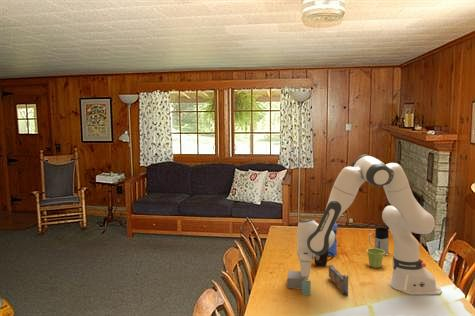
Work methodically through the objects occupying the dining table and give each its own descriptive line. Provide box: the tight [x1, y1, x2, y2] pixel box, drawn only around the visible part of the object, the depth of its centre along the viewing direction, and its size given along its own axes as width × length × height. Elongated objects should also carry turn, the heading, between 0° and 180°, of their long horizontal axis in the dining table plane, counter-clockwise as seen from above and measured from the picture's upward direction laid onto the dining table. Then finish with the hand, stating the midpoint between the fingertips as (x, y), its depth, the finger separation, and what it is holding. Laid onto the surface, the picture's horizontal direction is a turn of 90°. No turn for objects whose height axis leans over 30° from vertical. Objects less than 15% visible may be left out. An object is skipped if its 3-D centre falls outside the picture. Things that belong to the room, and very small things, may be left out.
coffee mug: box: [313, 250, 335, 268], centre depth 215 cm, size 12×9×10 cm
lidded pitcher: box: [368, 227, 390, 255], centre depth 232 cm, size 9×14×15 cm, turn 112°
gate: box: [328, 264, 344, 293], centre depth 189 cm, size 18×2×6 cm, turn 7°
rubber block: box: [286, 270, 304, 290], centre depth 191 cm, size 8×10×5 cm
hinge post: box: [342, 274, 349, 297], centre depth 178 cm, size 2×2×9 cm
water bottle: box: [328, 222, 338, 257], centre depth 232 cm, size 9×9×25 cm
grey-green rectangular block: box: [301, 280, 312, 296], centre depth 180 cm, size 4×2×6 cm, turn 77°
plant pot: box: [366, 247, 385, 269], centre depth 213 cm, size 9×9×9 cm
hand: (306, 279), depth 189 cm, fingers closed
